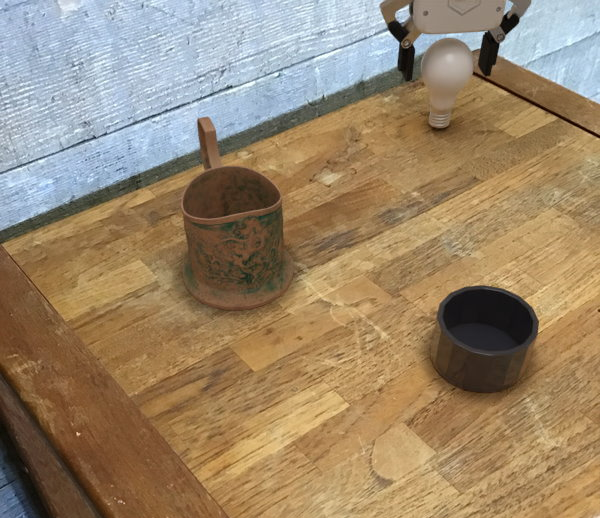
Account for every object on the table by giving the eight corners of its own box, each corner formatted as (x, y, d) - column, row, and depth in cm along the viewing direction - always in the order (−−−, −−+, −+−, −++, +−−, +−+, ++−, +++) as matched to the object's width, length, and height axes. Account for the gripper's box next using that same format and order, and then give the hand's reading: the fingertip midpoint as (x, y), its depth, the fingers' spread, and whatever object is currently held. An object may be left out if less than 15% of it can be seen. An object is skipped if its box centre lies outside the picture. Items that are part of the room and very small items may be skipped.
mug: (260, 197, 85) (254, 99, 76) (308, 295, 74) (308, 194, 65) (162, 217, 83) (144, 118, 74) (196, 320, 72) (180, 220, 63)
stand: (509, 320, 72) (520, 281, 68) (538, 388, 66) (552, 349, 63) (421, 328, 71) (427, 289, 68) (443, 397, 66) (451, 359, 62)
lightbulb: (423, 109, 97) (434, 24, 89) (469, 120, 96) (485, 34, 87) (406, 133, 94) (416, 46, 85) (454, 144, 92) (468, 57, 83)
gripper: (394, -71, 73) (380, 93, 86) (562, -80, 74) (523, 84, 88) (380, -97, 78) (369, 63, 91) (538, -104, 79) (505, 55, 92)
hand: (445, 73), depth 89 cm, fingers open, 9 cm apart
